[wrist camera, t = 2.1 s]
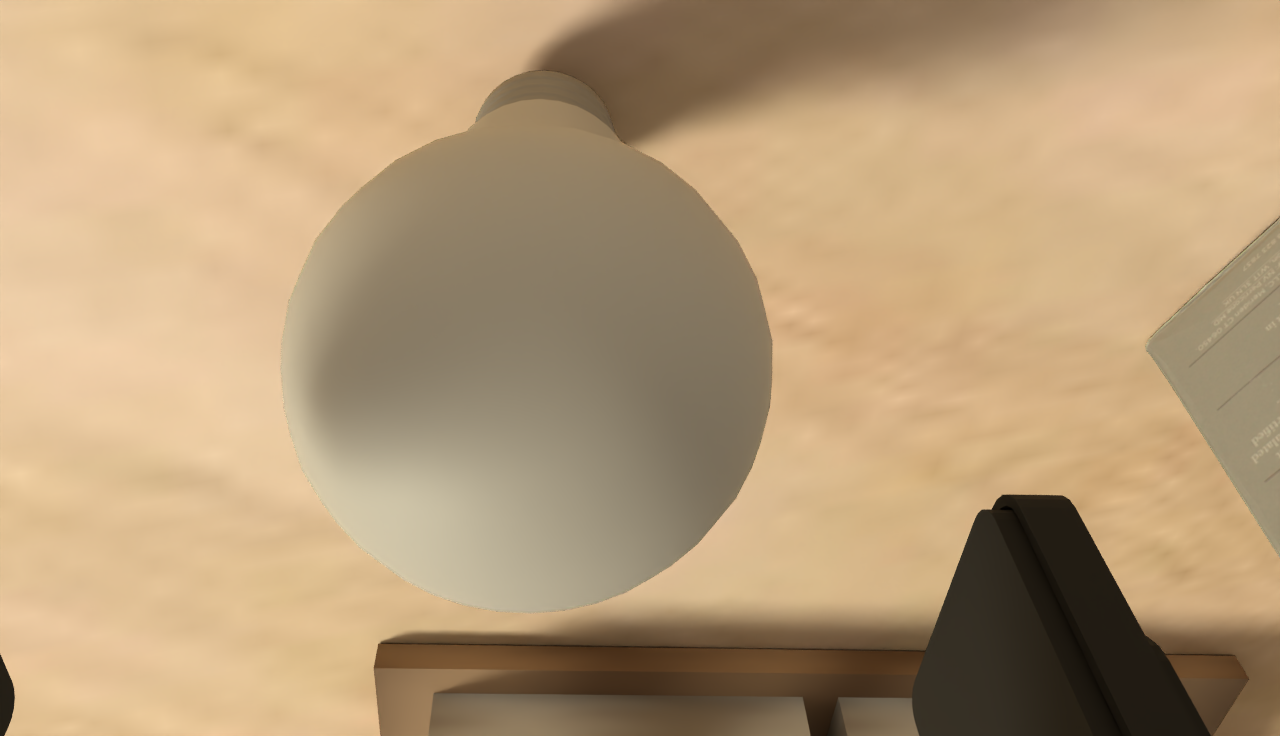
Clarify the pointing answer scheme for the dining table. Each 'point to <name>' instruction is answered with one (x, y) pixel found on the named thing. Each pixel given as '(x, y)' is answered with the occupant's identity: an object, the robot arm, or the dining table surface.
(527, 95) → the lightbulb
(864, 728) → the compartment tray
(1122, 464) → the dining table surface
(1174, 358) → the skincare box
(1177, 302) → the dining table surface
